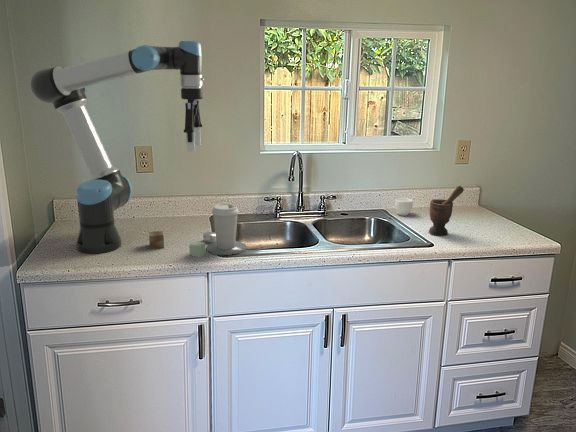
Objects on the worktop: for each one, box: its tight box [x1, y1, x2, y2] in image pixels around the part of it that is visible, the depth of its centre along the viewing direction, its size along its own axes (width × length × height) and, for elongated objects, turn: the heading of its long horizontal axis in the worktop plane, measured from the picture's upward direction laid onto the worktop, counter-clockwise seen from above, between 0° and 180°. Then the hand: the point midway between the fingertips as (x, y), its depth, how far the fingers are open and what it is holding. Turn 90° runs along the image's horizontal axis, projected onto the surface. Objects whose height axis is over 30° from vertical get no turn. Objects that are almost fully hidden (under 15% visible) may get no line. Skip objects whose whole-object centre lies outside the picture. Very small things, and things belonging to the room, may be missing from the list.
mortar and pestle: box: [428, 185, 465, 237], centre depth 209 cm, size 12×9×20 cm
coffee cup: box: [211, 203, 240, 250], centre depth 189 cm, size 10×10×15 cm
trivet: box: [206, 240, 247, 256], centre depth 191 cm, size 14×14×1 cm
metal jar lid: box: [202, 231, 216, 245], centre depth 199 cm, size 5×5×3 cm
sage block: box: [188, 240, 207, 258], centre depth 185 cm, size 4×4×4 cm
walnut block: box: [148, 230, 165, 250], centre depth 193 cm, size 5×5×5 cm
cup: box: [394, 197, 414, 217], centre depth 237 cm, size 8×10×7 cm
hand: (194, 148), depth 191 cm, fingers open, 13 cm apart
